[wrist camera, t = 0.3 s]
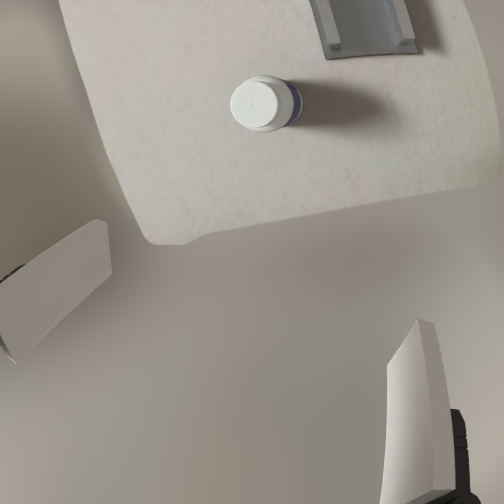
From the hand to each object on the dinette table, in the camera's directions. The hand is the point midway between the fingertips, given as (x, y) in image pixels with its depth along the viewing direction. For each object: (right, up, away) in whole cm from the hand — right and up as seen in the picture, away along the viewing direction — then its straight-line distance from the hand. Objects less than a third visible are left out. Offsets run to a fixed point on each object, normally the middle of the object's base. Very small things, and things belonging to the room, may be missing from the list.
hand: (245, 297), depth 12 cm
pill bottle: (+3, +18, +19) cm, 26 cm away
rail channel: (+11, +29, +10) cm, 33 cm away
